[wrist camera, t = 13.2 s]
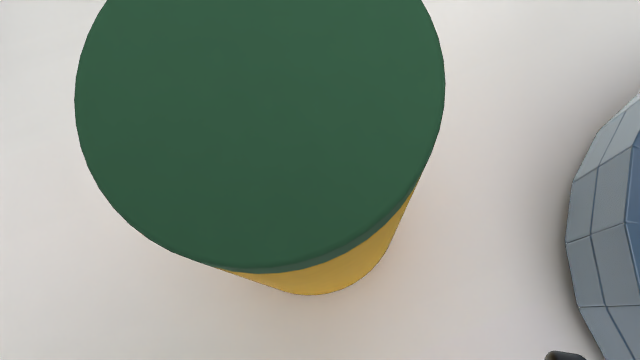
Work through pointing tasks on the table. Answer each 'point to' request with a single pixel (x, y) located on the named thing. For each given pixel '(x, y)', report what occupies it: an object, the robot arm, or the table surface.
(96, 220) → the table surface
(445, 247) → the table surface
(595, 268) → the bowl
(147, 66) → the green-capped yellow cylinder
